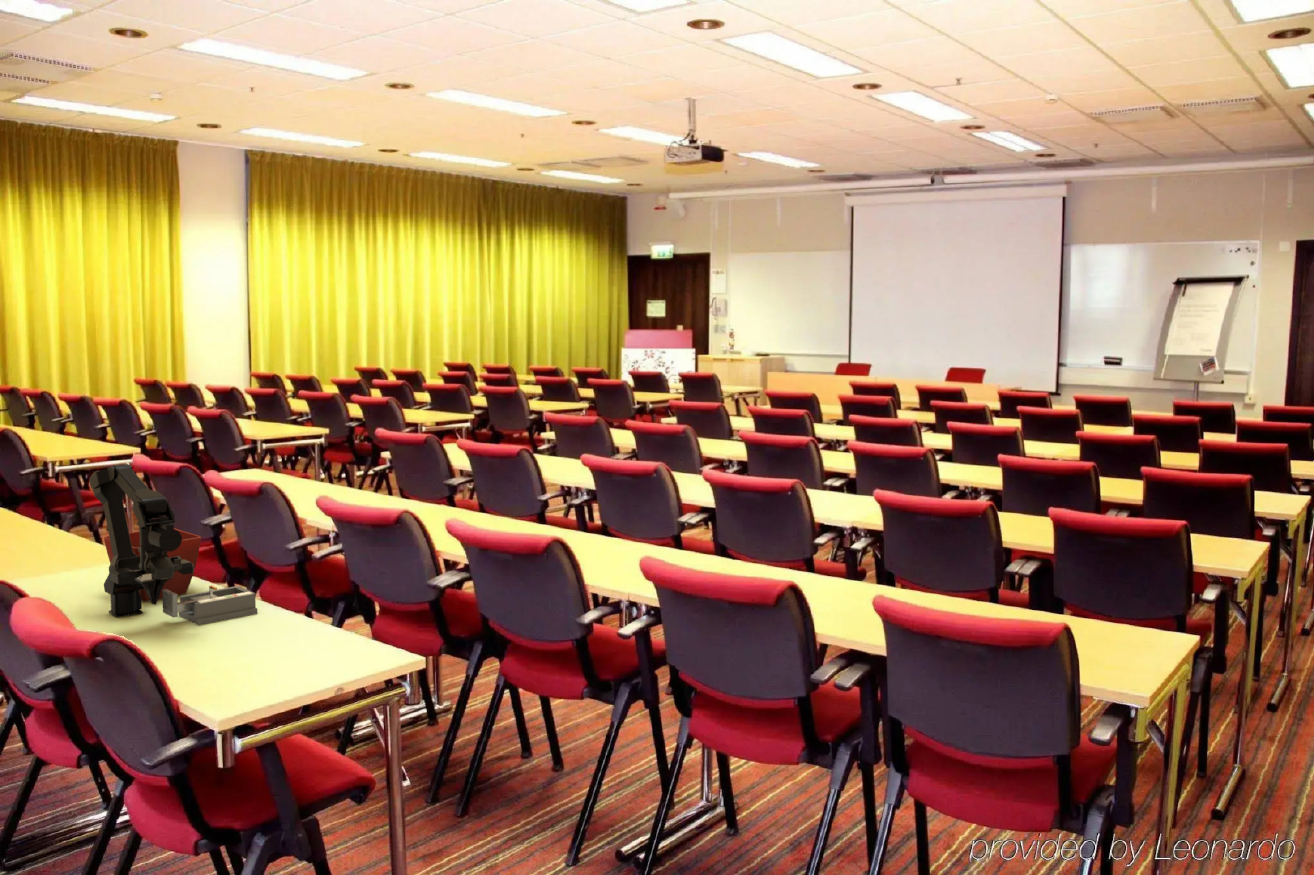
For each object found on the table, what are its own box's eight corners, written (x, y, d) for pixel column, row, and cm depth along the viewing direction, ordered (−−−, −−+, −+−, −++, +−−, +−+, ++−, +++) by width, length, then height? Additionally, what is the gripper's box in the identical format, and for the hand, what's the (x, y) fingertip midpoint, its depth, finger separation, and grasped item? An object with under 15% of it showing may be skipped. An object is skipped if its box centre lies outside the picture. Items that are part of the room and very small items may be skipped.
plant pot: (137, 607, 284) (135, 547, 282) (104, 594, 296) (102, 536, 294) (204, 593, 299) (202, 536, 297) (169, 581, 311) (168, 526, 309)
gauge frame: (198, 625, 270) (197, 603, 269) (178, 615, 278) (178, 593, 277) (257, 613, 282) (257, 592, 281) (237, 604, 290) (236, 583, 289)
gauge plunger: (177, 622, 266) (176, 595, 265) (162, 614, 272) (161, 587, 272) (227, 612, 276) (227, 586, 275) (212, 605, 282) (212, 579, 281)
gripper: (125, 556, 253) (127, 618, 255) (202, 545, 267) (203, 604, 268) (108, 547, 261) (110, 608, 263) (184, 537, 274) (185, 595, 276)
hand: (154, 604), depth 267 cm, fingers closed
